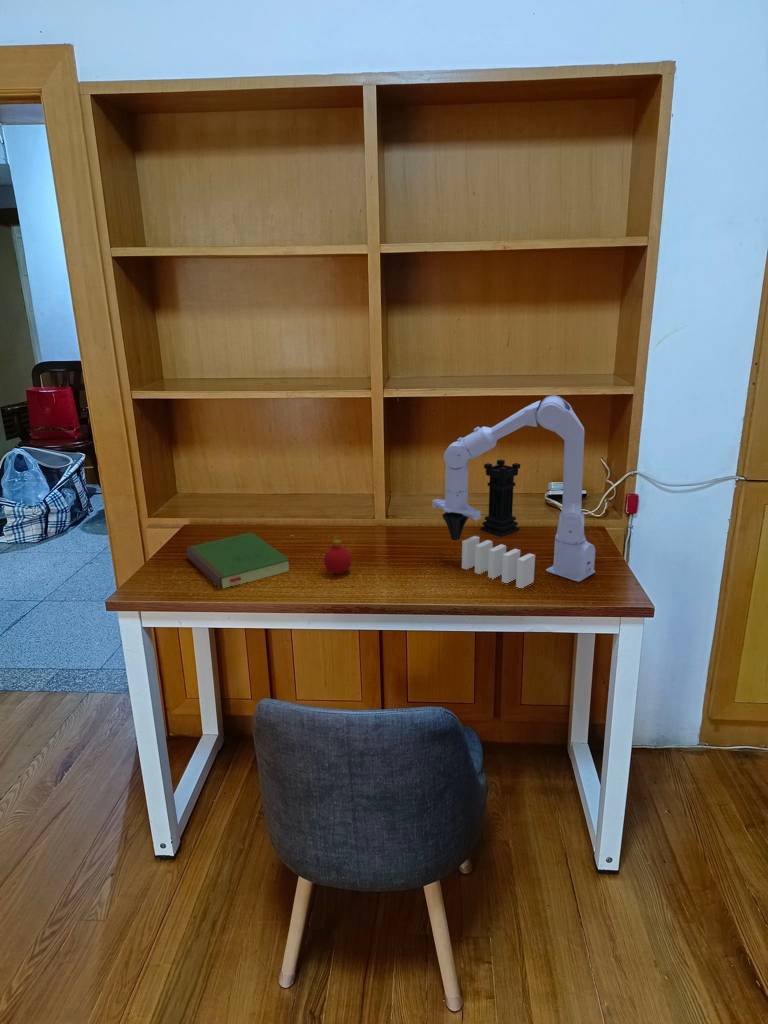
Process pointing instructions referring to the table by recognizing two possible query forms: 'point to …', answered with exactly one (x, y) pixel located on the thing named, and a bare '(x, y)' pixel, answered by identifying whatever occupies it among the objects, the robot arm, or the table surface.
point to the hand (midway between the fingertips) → (455, 539)
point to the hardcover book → (237, 560)
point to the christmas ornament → (337, 558)
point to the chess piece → (500, 499)
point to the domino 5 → (525, 570)
